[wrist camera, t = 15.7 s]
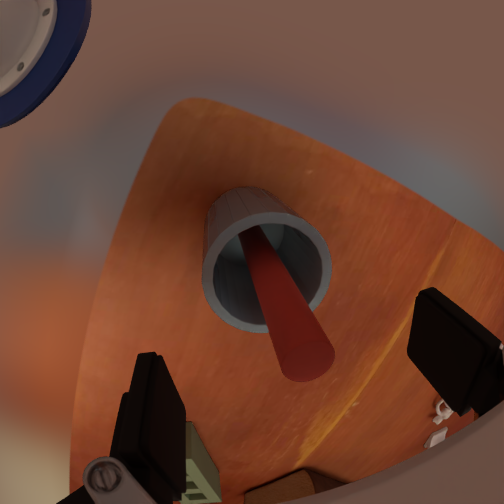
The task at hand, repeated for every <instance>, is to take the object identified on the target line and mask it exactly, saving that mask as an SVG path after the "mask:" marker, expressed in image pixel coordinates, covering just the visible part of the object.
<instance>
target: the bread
mask: <svg viewBox="0 0 504 504" xmlns="http://www.w3.org/2000/svg"><path fill="white" fill-rule="evenodd" d="M343 485H346V484H344V483H341V482H339V481H336V480H333V479H330V478H327V477H324V476H322V475H320V474H317V473H315V472H312V471H309V470H307V469H302V470H300V471H297V472H294V473H292V474H290V475H288V476H286V477H284V478H281V479H279V480H277V481H274V482H272V483H269V484H267V485H264V486H262V487H259V488H257V489H254V490H252V491H249V492H247V493H245V498H244V504H277V503H282V502H286V501H291V500H295V499H299V498H303V497H307V496H311V495H314V494H318V493H321V492H325V491H328V490H331V489H334V488H337V487H340V486H343Z"/></svg>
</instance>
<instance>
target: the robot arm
mask: <svg viewBox="0 0 504 504" xmlns="http://www.w3.org/2000/svg"><path fill="white" fill-rule="evenodd" d="M57 10H58V9H57V1H56V0H0V97H1V96H3V95H4V94H6V93H8V92H9V91H11V90H12V89H13V88H14V87H15V86H17V85H18V84H19V83H20V82H21V81H22V80H23V79H24V78H25V77H26V76H27V74H28V73H29V72H30V71H31V69H32V68H33V67H34V66H35V64H36V63H37V61H38V60H39V58H40V57H41V55H42V54H43V52H44V50H45V48H46V46H47V44H48V42H49V40H50V38H51V35H52V33H53V30H54V27H55V23H56V19H57ZM500 345H501V341H500V340H499V339H498V338H497V337H496V336H494V335H493V334H492V333H491V332H490V331H489V330H487V329H486V328H485V327H484V326H483V325H481V324H480V323H479V322H478V321H476V320H475V319H474V318H473V317H472V316H470V315H469V314H468V313H467V312H465V311H464V310H463V309H462V308H460V307H459V306H458V305H457V304H455V303H454V302H453V301H451V300H450V299H449V298H447V297H446V296H445V295H444V294H442V293H441V292H440V291H438V290H437V289H436V288H434V287H430V288H427V289H424V290H421V291H420V292H419V293H418V296H417V297H416V299H415V306H414V313H413V319H412V325H411V331H410V336H409V342H408V347H407V354H408V357H409V358H410V359H411V361H412V362H413V363H414V364H415V365H416V367H417V368H418V369H419V370H420V371H421V373H422V374H423V375H424V376H425V377H426V379H427V380H428V381H429V382H430V384H431V385H432V386H433V387H434V389H435V390H436V391H437V392H438V393H439V395H440V396H441V397H442V398H443V400H444V401H445V402H446V404H447V405H448V406H449V407H450V409H451V410H452V411H454V412H457V413H458V415H459V416H460V417H461V416H462V415H464V414H466V413H467V412H469V411H470V410H471V408H473V410H474V422H472V423H471V424H469V425H468V426H466V427H465V428H463V429H461V430H460V431H458V432H457V433H455V434H453V435H452V436H450V437H448V438H447V439H445V440H443V441H441V442H440V443H438V444H436V445H434V446H432V447H431V448H429V449H427V450H425V451H423V452H421V453H419V454H417V455H415V456H413V457H411V458H409V459H407V460H405V461H403V462H401V463H399V464H397V465H394V466H392V467H390V468H388V469H385V470H383V471H381V472H378V473H376V474H373V475H371V476H368V477H366V478H363V479H360V480H358V481H355V482H352V483H349V484H346V485H343V486H340V487H337V488H334V489H331V490H328V491H325V492H321V493H318V494H314V495H311V496H307V497H303V498H299V499H295V500H291V501H286V502H282V503H277V504H504V347H503V349H500V348H499V347H500ZM83 483H84V485H83V486H82V487H80V488H79V489H77V490H76V491H75V492H73V493H72V494H70V495H69V496H67V497H66V498H65V499H63V500H61V501H60V502H58V503H56V504H173V501H182V493H186V490H187V486H186V410H185V406H184V404H183V402H182V400H181V398H180V395H179V393H178V391H177V389H176V387H175V385H174V382H173V380H172V378H171V375H170V373H169V371H168V369H167V366H166V364H165V361H164V359H163V357H162V356H161V355H158V356H157V354H156V353H155V352H148V353H140V354H138V356H137V360H136V364H135V368H134V372H133V376H132V381H131V385H130V389H129V392H125V393H124V394H123V396H122V399H121V403H120V407H119V412H118V416H117V421H116V425H115V430H114V435H113V440H112V445H111V450H110V456H109V457H99V458H97V459H95V460H93V461H92V462H90V463H89V464H88V465H87V467H86V468H85V470H84V473H83Z"/></svg>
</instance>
